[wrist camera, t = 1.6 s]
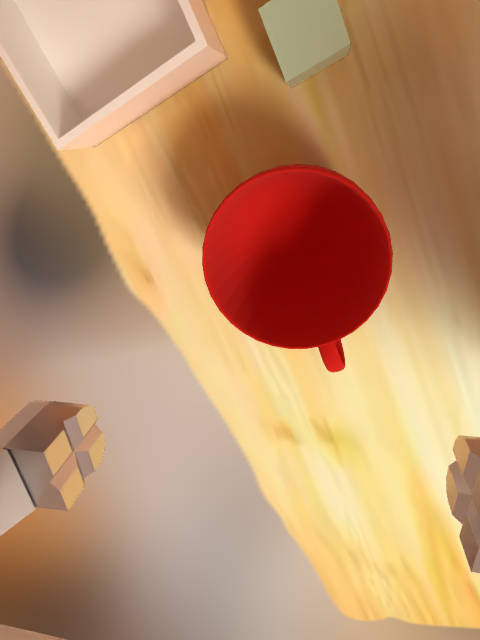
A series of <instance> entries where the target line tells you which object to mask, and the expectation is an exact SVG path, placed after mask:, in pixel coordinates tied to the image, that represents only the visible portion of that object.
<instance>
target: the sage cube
mask: <svg viewBox="0 0 480 640" xmlns="http://www.w3.org/2000/svg"><path fill="white" fill-rule="evenodd" d="M258 11H259V13H260V16H261V19H262V21H263V24H264V26H265V29H266V32H267V34H268V37H269V40H270V42H271V45H272V47H273V50H274V53H275V55H276V58H277V60H278V63H279V66H280V68H281V71H282V73H283V76H284V79H285V81H286V83H287V84H288V85H289V86H290V87H291V88H293V87H294V86H296V85H298V84H299V83H301V82H303V81H305V80H306V79H308V78H310V77H311V76H313V75H315V74H316V73H318V72H320V71H322V70H323V69H325V68H327V67H328V66H330V65H332V64H333V63H335V62H337V61H339V60H340V59H342V58H344V57H345V56H347V55H348V53H349V49H350V45H351V42H350V39H349V36H348V33H347V30H346V27H345V24H344V20H343V17H342V14H341V11H340V8H339V5H338V2H337V0H270V1H269V2H268V3H266V4H265V5H263V6H262V7H260V8H259V9H258Z"/></svg>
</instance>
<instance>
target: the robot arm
mask: <svg viewBox="0 0 480 640" xmlns="http://www.w3.org/2000/svg"><path fill="white" fill-rule="evenodd" d="M97 419H98V416H97V414H96V411H95V408H94V407H92V406H89V405H83V404H74V403H65V402H56V401H54V402H51V401H43V400H35V401H32V402H30V403H28V404H27V405H26V406H25V407H24V408H23V409H22V410H21V411H20V412H19V413H18V414H17V415H15V416H14V417H13V418H12V419H11V420H10V421H9V422H8V423H7V424H6V425H5V426H4V427H3V428H1V429H0V536H1V535H2V534H3V533H4V532H6V531H7V530H9V529H10V528H11V527H12V526H14V525H15V524H16V523H18V522H19V521H20V520H22V519H23V518H24V517H26V516H27V515H28V514H30V513H31V512H32V511H34V510H35V507H39V508H48V509H56V510H65V511H68V510H69V509H70V507H71V506H72V505H73V503H74V502H75V500H76V498H77V497H78V496H79V494H80V493H81V491H82V489H83V488H84V487H85V482H84V478H85V477H86V476H88V475H89V474H91V473H92V472H94V471H95V470H96V469H97V467H98V465H99V464H100V462H101V460H102V457H103V453H104V450H105V439H104V435H103V432H102V431H101V430H100V429H99V428H98V427H97V426H96V425H95V423H96V421H97ZM453 452H454V454H455V457H456V460H457V461H455V462H454V463H452V464H451V465H449V467H448V472H447V477H446V486H447V497H448V502H449V505H450V509H451V512H452V515H453V516H454V517H455V518H456V519H457V520H458V521H459V522H461V523H462V524H463V525H462V529H461V532H460V536H459V537H460V540H461V543H462V546H463V549H464V552H465V555H466V558H467V561H468V564H469V567H470V570H471V572H476V573H480V437H473V436H458V437H457V439H456V440H455V443H454V447H453ZM0 640H65V639H61V638H57V637H52V636H49V635H44V634H40V633H36V632H31V631H27V630H23V629H18V628H14V627H10V626H5V625H1V624H0Z"/></svg>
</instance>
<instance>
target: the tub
mask: <svg viewBox="0 0 480 640" xmlns="http://www.w3.org/2000/svg"><path fill="white" fill-rule="evenodd" d="M0 57H1V58H2V60H3V61H4V63H5V65H6V66H7V68H8V70H9V71H10V73H11V75H12V76H13V78H14V79H15V81H16V83H17V84H18V86H19V88H20V89H21V91H22V93H23V94H24V96H25V97H26V99H27V101H28V102H29V104H30V106H31V107H32V109H33V110H34V112H35V114H36V115H37V117H38V119H39V120H40V122H41V124H42V125H43V127H44V128H45V130H46V132H47V133H48V135H49V137H50V138H51V140H52V142H53V143H54V145H55V146H56V148H57V150H66V149H77V148H88V147H96V146H97V145H99V144H100V143H102V142H103V141H105V140H106V139H108V138H109V137H111V136H112V135H114V134H115V133H117V132H118V131H120V130H121V129H123V128H124V127H126V126H127V125H129V124H130V123H132V122H133V121H135V120H136V119H138V118H139V117H141V116H142V115H144V114H145V113H147V112H148V111H150V110H151V109H153V108H154V107H156V106H157V105H159V104H160V103H162V102H163V101H165V100H166V99H168V98H169V97H171V96H172V95H174V94H175V93H177V92H178V91H180V90H181V89H183V88H184V87H186V86H187V85H189V84H190V83H192V82H193V81H195V80H196V79H198V78H199V77H201V76H202V75H204V74H205V73H207V72H208V71H210V70H211V69H213V68H214V67H216V66H217V65H219V64H220V63H222V62H223V61H225V60H226V59H227V56H226V53H225V51H224V49H223V46H222V44H221V42H220V39H219V37H218V35H217V32H216V30H215V28H214V25H213V23H212V21H211V18H210V16H209V14H208V11H207V9H206V6H205V4H204V2H203V0H0Z"/></svg>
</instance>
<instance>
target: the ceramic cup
mask: <svg viewBox="0 0 480 640" xmlns="http://www.w3.org/2000/svg"><path fill="white" fill-rule="evenodd" d="M392 257H393V252H392V245H391V239H390V233H389V231H388V228H387V226H386V223H385V221H384V219H383V216H382V214H381V212H380V211H379V210H378V208H377V207H376V205H375V204H374V202H373V201H372V200H371V198H370V197H369V196H368V195H367V194H366V193H365V192H364V191H363V190H362V189H361V188H360V187H359V186H357V185H356V184H355V183H354V182H353V181H351V180H349V179H348V178H346V177H344V176H343V175H341V174H339V173H337V172H335V171H332V170H329V169H326V168H323V167H319V166H313V165H302V164H296V165H287V166H279V167H276V168H272V169H269V170H266V171H263V172H260V173H258V174H256V175H254V176H253V177H251V178H249V179H248V180H246V181H244V182H243V183H241V184H240V185H239V186H237V187H236V188H235V189H234V190H233V191H232V192H231V193H230V194H229V195H228V196H226V198H225V199H224V200H223V202H222V203H221V204H220V206H219V207H218V208H217V210H216V211H215V213H214V214H213V217H212V219H211V221H210V223H209V225H208V228H207V230H206V235H205V239H204V244H203V257H202V265H203V271H204V277H205V282H206V284H207V287H208V290H209V292H210V295H211V297H212V299H213V300H214V302H215V304H216V305H217V307H218V309H219V310H220V311H221V313H222V314H223V315H224V316H225V317H226V318H227V319H228V320H229V322H230V323H232V324H233V325H234V326H235V327H237V328H238V329H239V330H240V331H242V332H243V333H245V334H246V335H248V336H250V337H252V338H254V339H255V340H257V341H260V342H263V343H266V344H269V345H272V346H276V347H282V348H288V349H307V348H313V347H318V348H319V351H320V354H321V357H322V360H323V362H324V364H325V366H326V368H327V370H328V371H330V372H338V371H341V370H343V369H344V368H345V357H344V352H343V347H342V343H341V339H342V338H343V337H345V336H347V335H349V334H350V333H352V332H354V331H355V330H356V329H357V328H359V327H360V326H361V325H362V324H363V323H365V322H366V321H367V320H368V319H369V317H370V316H371V315H372V314H373V312H374V311H375V310H376V309H377V308H378V306H379V304H380V302H381V300H382V298H383V296H384V295H385V293H386V291H387V287H388V284H389V280H390V276H391V273H392Z"/></svg>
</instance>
